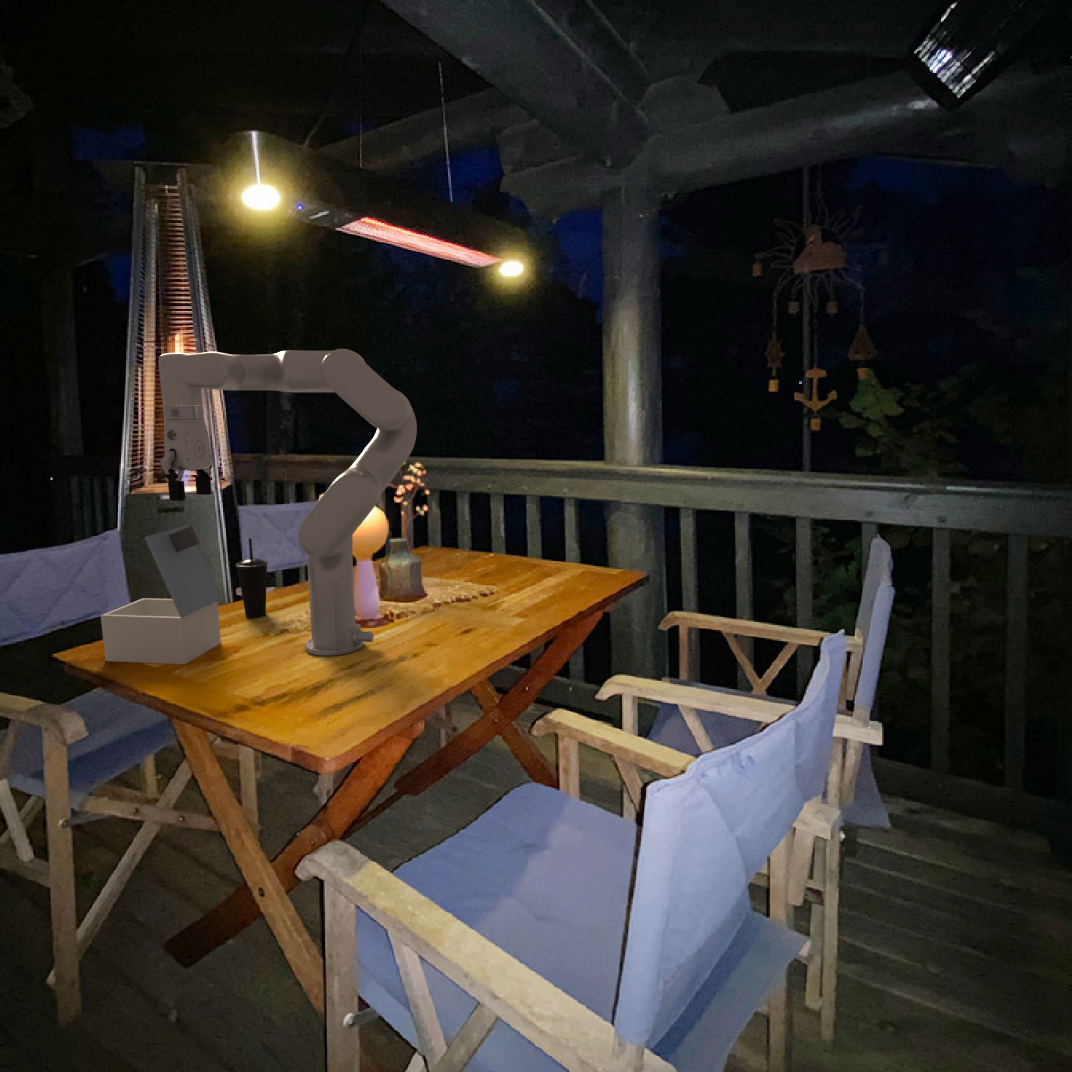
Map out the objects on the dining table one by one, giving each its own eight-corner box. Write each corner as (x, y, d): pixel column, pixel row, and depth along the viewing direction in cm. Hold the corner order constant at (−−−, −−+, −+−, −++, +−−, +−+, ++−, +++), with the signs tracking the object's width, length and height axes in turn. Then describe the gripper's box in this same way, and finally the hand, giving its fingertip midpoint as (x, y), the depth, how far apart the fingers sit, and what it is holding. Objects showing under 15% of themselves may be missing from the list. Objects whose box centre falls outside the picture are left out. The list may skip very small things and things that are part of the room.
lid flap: (217, 600, 168) (239, 592, 167) (180, 618, 155) (204, 609, 154) (184, 526, 166) (206, 517, 165) (144, 537, 153) (168, 527, 151)
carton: (220, 642, 170) (217, 600, 168) (185, 664, 157) (180, 618, 155) (147, 640, 172) (143, 598, 171) (105, 661, 159) (100, 615, 157)
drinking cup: (238, 620, 187) (231, 542, 184) (241, 612, 195) (235, 536, 191) (270, 618, 189) (264, 540, 186) (272, 610, 197) (267, 535, 193)
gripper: (176, 415, 145) (184, 503, 149) (223, 414, 162) (229, 492, 165) (140, 416, 146) (149, 502, 149) (190, 414, 163) (197, 492, 166)
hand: (191, 497), depth 157 cm, fingers open, 9 cm apart
